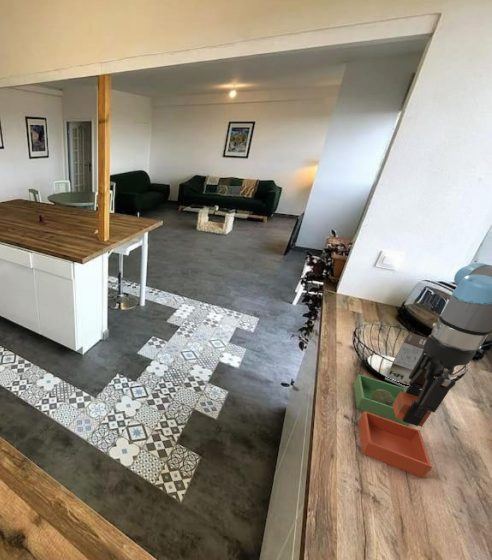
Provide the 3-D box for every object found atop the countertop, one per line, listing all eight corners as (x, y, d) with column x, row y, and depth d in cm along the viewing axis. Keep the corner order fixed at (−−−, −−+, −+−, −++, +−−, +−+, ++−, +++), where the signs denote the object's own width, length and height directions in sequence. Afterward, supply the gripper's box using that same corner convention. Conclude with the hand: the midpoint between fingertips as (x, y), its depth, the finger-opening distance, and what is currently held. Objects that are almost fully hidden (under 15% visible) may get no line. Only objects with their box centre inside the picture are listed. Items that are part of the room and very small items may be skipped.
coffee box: (408, 390, 103) (430, 351, 96) (384, 379, 108) (403, 342, 101) (413, 377, 109) (434, 340, 102) (390, 367, 113) (408, 331, 106)
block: (417, 413, 80) (426, 399, 78) (421, 427, 76) (431, 412, 74) (392, 404, 83) (400, 390, 80) (395, 417, 79) (404, 403, 77)
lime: (392, 408, 96) (399, 397, 94) (376, 408, 96) (382, 396, 94) (381, 397, 100) (387, 386, 98) (366, 397, 100) (371, 385, 98)
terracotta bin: (412, 441, 86) (419, 430, 84) (423, 478, 77) (432, 467, 75) (358, 421, 92) (363, 410, 90) (362, 453, 83) (368, 442, 81)
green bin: (400, 399, 100) (406, 388, 98) (408, 426, 91) (415, 415, 89) (353, 384, 106) (358, 374, 104) (356, 408, 97) (361, 397, 95)
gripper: (420, 318, 78) (383, 387, 88) (441, 357, 64) (394, 433, 74) (462, 327, 74) (418, 398, 84) (494, 371, 61) (437, 449, 71)
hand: (407, 414), depth 79 cm, fingers closed on block, 5 cm apart
